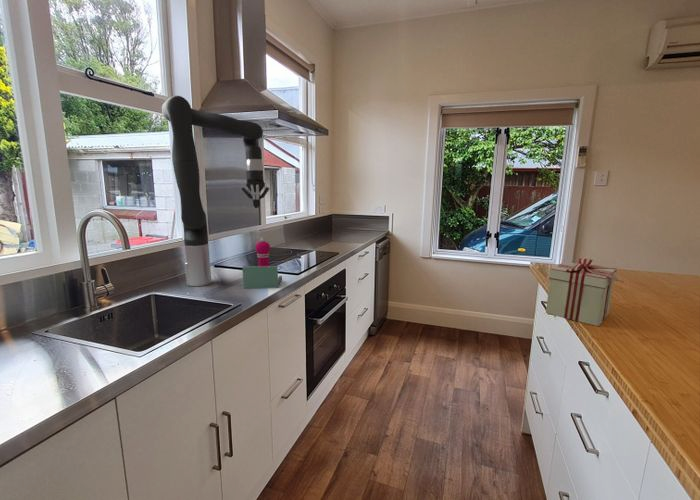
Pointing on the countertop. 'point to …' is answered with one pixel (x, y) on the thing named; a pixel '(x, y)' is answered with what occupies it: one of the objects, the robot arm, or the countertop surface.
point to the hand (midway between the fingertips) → (257, 207)
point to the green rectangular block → (261, 277)
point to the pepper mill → (263, 252)
